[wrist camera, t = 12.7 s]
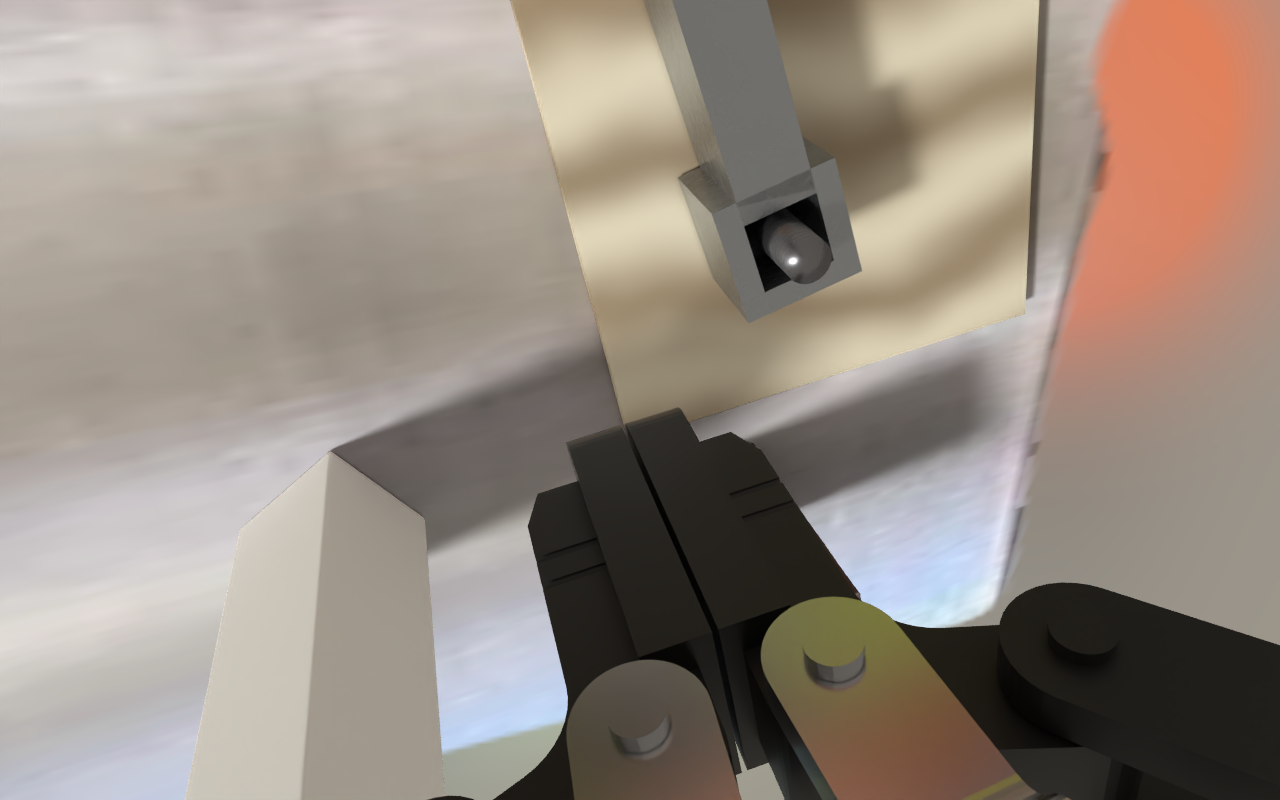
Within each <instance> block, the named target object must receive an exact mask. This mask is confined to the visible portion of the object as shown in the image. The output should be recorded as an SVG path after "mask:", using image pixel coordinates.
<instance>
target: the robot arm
mask: <svg viewBox="0 0 1280 800" xmlns="http://www.w3.org/2000/svg"><path fill="white" fill-rule="evenodd" d="M624 426H625V433H626V435H625V433H624V431H623V429H622V427H621V426H617V427H614V428H611V429H608V430H604V431H601V432H598V433H595V434H592V435H589V436H585V437H582V438H579V439H576V440H573V441H569V442H566V444H567V448H568V451H569V455H570V458H571V462H572V465H573V468H574V472H575V475H576V478H577V482H574V483H570V484H567V485H564V486H561V487H558V488H555V489H552V490H549V491H545V492H542V493H539V494H538V495H537V498H536V501H535V504H534V508H533V511H532V514H531V517H530V521H529V524H528V529H529V533H530V537H531V542H532V546H533V550H534V554H535V558H536V561H537V567H538V571H539V575H540V579H541V583H542V586H543V592H544V596H545V600H546V604H547V608H548V612H549V617H550V621H551V625H552V629H553V633H554V637H555V642H556V646H557V650H558V654H559V658H560V662H561V667H562V671H563V675H564V679H565V683H566V688H567V695H568V710H567V714H566V719H565V723H564V726H563V728H562V731H561V734H560V736H559V737H558V739H557V741H556V743H555V745H554V746H553V748H552V749H551V750H550V752H549V753H548V754H547V756H546V757H545V758H544V759H543V760H542V761H541V762H540V764H539V765H538V766H537V767H536V768H535V769H533V770H532V771H531V772H530V773H529V774H527V775H526V776H525V777H524V778H522V779H521V780H520V781H518V782H517V783H515V784H514V785H513V786H511V787H510V788H509V789H507V790H506V791H504V792H503V793H502V794H500V795H499V796H498V797H496V798H495V799H493V800H742V799H741V796H740V793H739V789H738V784H737V779H736V775H737V774H740V773H741V772H742V771H741V767H740V762H739V757H738V753H737V748H736V744H737V746H738V749H739V751H740V753H741V756H742V758H743V761H744V763H745V766H746V768H747V770H749V769H752V768H755V767H757V766H760V765H763V764H766V763H768V762H769V764H770V766H771V768H772V770H773V773H774V775H775V778H776V780H777V782H778V784H779V786H780V789H781V791H782V794H783V796H784V800H1280V645H1277V644H1274V643H1271V642H1268V641H1264V640H1261V639H1259V638H1255V637H1252V636H1249V635H1246V634H1243V633H1240V632H1236V631H1233V630H1230V629H1227V628H1224V627H1221V626H1218V625H1215V624H1212V623H1209V622H1205V621H1202V620H1199V619H1196V618H1193V617H1190V616H1187V615H1184V614H1181V613H1178V612H1174V611H1171V610H1168V609H1165V608H1162V607H1158V606H1155V605H1153V604H1149V603H1146V602H1143V601H1140V600H1137V599H1134V598H1131V597H1128V596H1124V595H1121V594H1118V593H1115V592H1112V591H1109V590H1105V589H1103V588H1099V587H1095V586H1091V585H1086V584H1079V583H1053V584H1046V585H1042V586H1038V587H1035V588H1033V589H1030V590H1028V591H1025V592H1024V593H1022V594H1021V595H1019V596H1017V597H1016V598H1015V599H1014V600H1013V601H1012V602H1011V603H1010V604H1009V605H1008V606H1007V608H1006V609H1005V611H1004V612H1003V615H1002V618H1001V621H1000V625H991V626H972V627H953V628H925V627H917V626H912V625H908V624H904V623H900V622H897V621H895V620H893V619H892V618H891V617H890V616H888V615H887V614H886V613H884V612H883V611H882V610H880V609H878V608H876V607H874V606H873V605H871V604H868V603H865V602H863V601H861V600H860V599H859V598H858V597H857V596H856V594H855V593H854V592H853V590H852V589H851V588H850V586H849V585H848V583H847V582H846V580H845V579H844V577H843V576H842V574H841V572H840V571H839V569H838V568H837V566H836V565H835V563H834V562H833V560H832V559H831V557H830V555H829V554H828V552H827V551H826V549H825V548H824V546H823V545H822V543H821V542H820V540H819V539H818V537H817V535H816V534H815V532H814V531H813V529H812V528H811V526H810V525H809V523H808V522H807V520H806V519H805V517H804V515H803V514H802V512H801V511H800V509H799V508H798V506H795V504H794V501H793V498H792V497H791V495H790V494H789V492H788V491H787V489H786V488H785V486H784V485H783V483H780V480H779V477H778V475H777V474H776V472H775V471H774V469H773V468H772V466H771V465H770V463H769V462H768V460H767V458H766V457H765V455H764V454H763V452H762V451H761V450H760V449H758V448H756V447H755V446H753V445H751V444H750V443H748V442H746V441H745V440H743V439H741V438H740V437H738V436H736V435H735V434H733V433H731V432H729V433H726V434H723V435H720V436H717V437H713V438H710V439H707V440H704V441H701V442H699V440H698V438H697V436H696V434H695V433H694V431H693V429H692V427H691V426H690V424H689V422H688V420H687V418H686V417H685V415H684V413H683V411H682V410H681V409H680V408H679V407H677V408H674V409H671V410H667V411H664V412H661V413H658V414H655V415H651V416H648V417H645V418H642V419H639V420H636V421H632V422H629V423H626V424H625V425H624ZM626 437H627V438H626ZM735 741H736V744H735ZM428 800H473V799H471V798H466V797H462V796H442V797H435V798H432V799H428Z"/></svg>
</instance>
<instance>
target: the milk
mask: <svg viewBox="0 0 1280 800" xmlns="http://www.w3.org/2000/svg"><path fill="white" fill-rule="evenodd" d="M442 796H445V792H444V777H443V763H442V749H441V735H440V721H439V708H438V694H437V680H436V666H435V652H434V638H433V624H432V611H431V597H430V583H429V569H428V555H427V541H426V528H425V519H424V518H423V517H422V516H421V515H419V514H418V513H416V512H415V511H414V510H412V509H411V508H409V507H408V506H407V505H405V504H404V503H402V502H401V501H400V500H398V499H397V498H395V497H394V496H393V495H391V494H390V493H388V492H387V491H386V490H384V489H383V488H381V487H380V486H379V485H377V484H376V483H375V482H373V481H372V480H370V479H369V478H368V477H366V476H365V475H363V474H362V473H361V472H359V471H358V470H356V469H355V468H354V467H352V466H351V465H349V464H348V463H347V462H345V461H344V460H342V459H341V458H340V457H338V456H337V455H335V454H334V453H333V452H328V453H327V454H326V455H325V456H324V457H323V458H321V459H320V460H319V461H318V462H317V463H316V464H315V465H313V466H312V467H311V468H310V469H309V470H308V471H307V472H305V473H304V474H303V475H302V476H301V477H300V478H298V479H297V480H296V481H295V482H294V483H293V484H292V485H290V486H289V487H288V488H287V489H286V490H285V491H284V492H282V493H281V494H280V495H279V496H278V497H277V498H275V499H274V500H273V501H272V502H271V503H270V504H269V505H267V506H266V507H265V508H264V509H263V510H262V511H261V512H259V513H258V514H257V515H256V516H255V517H254V518H252V519H251V520H250V521H249V522H248V523H247V524H246V525H244V526H243V527H242V528H241V529H240V532H239V537H238V541H237V546H236V551H235V556H234V561H233V566H232V571H231V576H230V581H229V586H228V590H227V595H226V600H225V605H224V610H223V615H222V620H221V625H220V630H219V634H218V639H217V644H216V649H215V654H214V659H213V664H212V669H211V674H210V679H209V683H208V688H207V693H206V698H205V703H204V708H203V713H202V718H201V723H200V727H199V732H198V737H197V742H196V747H195V752H194V757H193V762H192V767H191V772H190V776H189V781H188V786H187V791H186V796H185V800H428V799H432V798H435V797H442Z"/></svg>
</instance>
